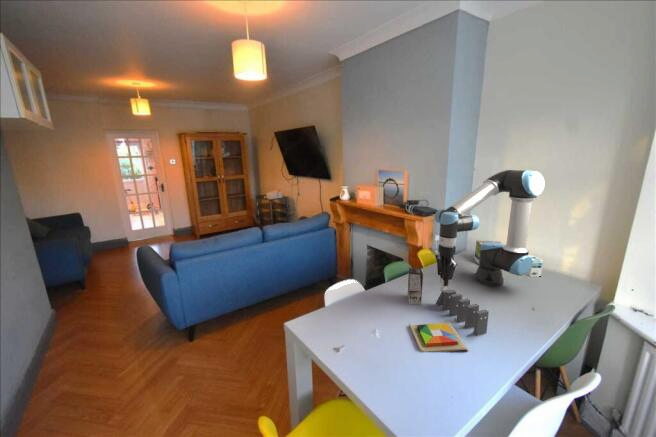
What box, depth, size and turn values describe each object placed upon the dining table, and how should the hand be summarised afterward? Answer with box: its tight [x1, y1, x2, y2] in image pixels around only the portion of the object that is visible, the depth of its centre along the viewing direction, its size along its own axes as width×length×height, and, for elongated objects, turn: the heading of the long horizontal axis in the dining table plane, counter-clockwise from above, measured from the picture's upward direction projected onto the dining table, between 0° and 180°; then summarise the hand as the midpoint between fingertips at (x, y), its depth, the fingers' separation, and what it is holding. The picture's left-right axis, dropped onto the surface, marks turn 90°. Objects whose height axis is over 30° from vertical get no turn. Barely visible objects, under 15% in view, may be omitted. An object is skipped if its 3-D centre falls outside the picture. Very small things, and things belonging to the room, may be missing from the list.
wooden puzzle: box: [408, 322, 469, 353], centre depth 117 cm, size 18×19×4 cm
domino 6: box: [472, 309, 490, 336], centre depth 118 cm, size 2×5×10 cm, turn 107°
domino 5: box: [464, 303, 480, 330], centre depth 123 cm, size 2×5×10 cm, turn 107°
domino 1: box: [435, 288, 453, 307], centre depth 140 cm, size 2×5×10 cm, turn 107°
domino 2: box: [441, 289, 457, 312], centre depth 137 cm, size 2×5×10 cm, turn 107°
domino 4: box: [456, 298, 472, 323], centre depth 128 cm, size 2×5×10 cm, turn 107°
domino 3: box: [448, 293, 463, 317], centre depth 132 cm, size 2×5×10 cm, turn 107°
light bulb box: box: [525, 254, 544, 278], centre depth 176 cm, size 11×7×11 cm, turn 179°
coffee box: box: [407, 267, 424, 305], centre depth 146 cm, size 9×6×16 cm
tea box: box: [473, 240, 506, 265], centre depth 193 cm, size 15×10×15 cm, turn 81°
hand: (443, 290), depth 140 cm, fingers closed
